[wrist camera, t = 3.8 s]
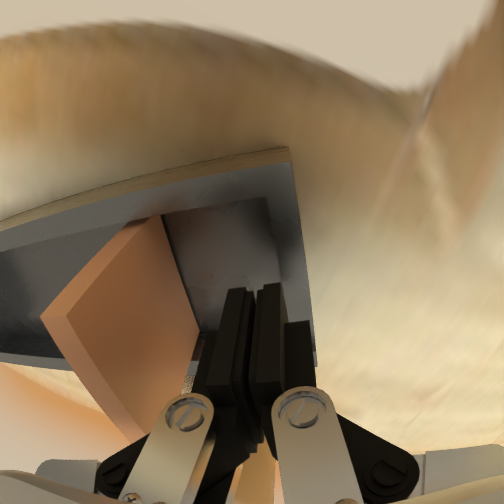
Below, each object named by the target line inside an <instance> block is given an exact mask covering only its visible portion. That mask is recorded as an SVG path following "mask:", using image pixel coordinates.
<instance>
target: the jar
mask: <svg viewBox="0 0 504 504" xmlns="http://www.w3.org/2000/svg"><path fill="white" fill-rule="evenodd" d="M275 462H276V459H275V458H273V457H272V454H271V451H270V449H269V446H268V443H267V440H266V438H265V435H264V443H262V444H258V448H257V453H250V458H248V459H247V460H246V461H245V462H243V463H242V464H243V466H242V472H241V476H240V479H239V483H238V486H237V490H236V493H235V496H234V500H233V503H232V504H273V502H274V483H275Z"/></svg>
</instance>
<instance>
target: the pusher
mask: <svg viewBox="0 0 504 504" xmlns="http://www.w3.org/2000/svg"><path fill="white" fill-rule="evenodd" d="M40 318H41V320H42V321H43V323H44V325H45V327H46V328H47V330H48V332H49V333H50V335H51V337H52V338H53V340H54V342H55V343H56V345H57V346H58V348H59V349H60V351H61V353H62V354H63V356H64V357H65V359H66V360H67V362H68V363H69V365H70V366H71V368H72V369H73V371H74V372H75V373H76V375H77V376H78V378H79V379H80V381H81V382H82V383H83V385H84V386H85V387H86V389H87V390H88V391H89V393H90V394H91V395H92V397H93V398H94V399H95V401H96V402H97V403H98V405H99V406H100V407H101V408H102V410H103V411H104V412H105V413H106V415H107V416H108V417H109V418H110V420H111V421H112V422H113V423H114V424H115V426H116V427H117V428H118V429H119V430H120V431H121V432H122V434H123V435H124V436H125V437H126V438H127V439H128V440H129V442H130V443H131V444H132V443H134V442H136V441H137V440H139V439H141V438H142V437H144V436H145V435H147V434H149V433H150V432H151V431H152V429H153V427H154V425H155V423H156V421H157V419H158V417H159V415H160V413H161V411H162V409H163V408H164V406H165V405H166V404H167V403H168V402H169V401H170V400H171V399H173V398H175V397H177V396H179V395H180V394H181V391H182V387H183V384H184V381H185V377H186V374H187V371H188V367H189V364H190V361H191V358H192V354H193V351H194V348H195V345H196V341H197V338H198V335H199V332H200V330H199V328H198V325H197V322H196V320H195V317H194V314H193V311H192V309H191V306H190V303H189V300H188V298H187V295H186V292H185V289H184V286H183V283H182V280H181V278H180V275H179V272H178V269H177V266H176V263H175V260H174V257H173V254H172V251H171V248H170V245H169V242H168V238H167V235H166V232H165V229H164V226H163V223H162V219H161V216H160V215H156V216H151V217H146V218H141V219H137V220H132V221H129V222H128V223H127V224H126V225H125V226H124V227H123V228H122V229H121V230H120V231H119V232H118V233H117V234H116V235H115V236H114V237H113V238H112V239H111V240H110V241H109V242H108V243H107V244H106V245H105V246H104V247H103V248H102V249H101V250H100V251H99V252H98V253H97V254H96V255H95V256H94V257H93V258H92V259H91V260H90V261H89V262H88V263H87V264H86V265H85V266H84V267H83V269H82V270H81V271H80V272H79V273H78V274H77V275H76V276H75V277H74V278H73V279H72V280H71V282H70V283H69V284H68V285H67V286H66V287H65V288H64V289H63V290H62V292H61V293H60V294H59V295H58V296H57V297H56V298H55V299H54V301H53V302H52V303H51V304H50V305H49V306H48V308H47V309H46V310H45V311H44V312H43V313H42V315H41V316H40Z"/></svg>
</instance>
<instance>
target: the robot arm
mask: <svg viewBox="0 0 504 504" xmlns="http://www.w3.org/2000/svg"><path fill="white" fill-rule="evenodd" d="M264 435H265V438H266V440H267V443H268V446H269V449H270V451H271V454H272V457H273V458H275V459H276V460H277V461H278V462H279V469H280V476H281V482H282V488H283V495H284V501H285V504H504V447H503V446H501V445H498V444H489V445H482V446H475V447H468V448H459V449H450V450H438V451H426V452H425V454H421V455H411V454H409V453H408V452H407V451H405V450H403V449H401V448H399V447H397V446H395V445H393V444H391V443H389V442H387V441H385V440H384V439H382V438H380V437H378V436H376V435H374V434H373V433H371V432H369V431H367V430H365V429H363V428H362V427H360V426H358V425H356V424H355V423H353V422H351V421H349V420H348V419H346V418H344V417H342V416H341V415H339V414H337V413H336V411H335V408H334V405H333V402H332V400H331V399H330V397H329V395H328V394H326V393H325V392H324V391H323V390H320V389H318V388H317V387H316V376H315V365H314V355H313V346H312V337H311V328H310V320H304V321H296V322H288V318H287V312H286V306H285V300H284V295H283V289H282V284H281V282H278V283H270V284H264V285H263V289H259V290H257V298H256V300H255V296H254V292H253V290H252V291H247V288H246V287H239V288H231V289H228V291H227V296H226V300H225V304H224V308H223V312H222V317H221V321H220V325H219V329H218V330H211V331H208V333H207V335H206V338H205V342H204V346H203V349H202V353H201V357H200V361H199V364H198V368H197V372H196V376H195V379H194V383H193V387H192V391H191V393H186V394H182V395H179V396H177V397H175V398H173V399H171V400H170V401H169V402H168V403H167V404H166V405H165V406H164V408H163V409H162V411H161V413H160V415H159V417H158V419H157V421H156V423H155V425H154V427H153V429H152V431H151V432H150V433H149V434H147V435H145V436H144V437H142V438H141V439H139V440H137V441H136V442H134V443H132V444H131V445H129V446H127V447H126V448H124V449H122V450H121V451H119V452H117V453H116V454H114V455H112V456H110V457H109V458H107V459H106V460H105V461H103V462H102V463H100V462H99V461H98V460H57V459H51V460H46V461H45V462H43V463H41V465H40V466H39V467H38V469H37V471H36V473H35V474H32V473H27V472H23V471H17V470H0V504H232V503H233V500H234V496H235V493H236V490H237V486H238V483H239V479H240V476H241V472H242V466H243V464H242V463H243V462H245V461H246V460H247V459H248V458H250V453H257V448H258V444H262V443H264Z"/></svg>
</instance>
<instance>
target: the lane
mask: <svg viewBox="0 0 504 504" xmlns="http://www.w3.org/2000/svg"><path fill="white" fill-rule="evenodd" d="M156 215H160V216H161V219H162V223H163V226H164V229H165V232H166V235H167V238H168V242H169V245H170V248H171V251H172V254H173V257H174V260H175V263H176V266H177V269H178V272H179V275H180V278H181V280H182V283H183V286H184V289H185V292H186V295H187V298H188V300H189V303H190V306H191V309H192V311H193V314H194V317H195V320H196V322H197V325H198V328H199V330H200V332H199V335H198V338H197V341H196V345H195V348H194V351H193V354H192V358H191V361H190V364H189V367H188V371H187V374H186V375H196V372H197V368H198V364H199V361H200V357H201V353H202V349H203V346H204V342H205V338H206V335H207V333H208V331H211V330H218V329H219V325H220V321H221V317H222V312H223V308H224V304H225V300H226V296H227V291H228V289H231V288H239V287H246V288H247V291H252V290H253V292H254V296H255V300H256V298H257V290H259V289H263V285H264V284H270V283H278V282H281V284H282V289H283V295H284V300H285V306H286V312H287V318H288V322H296V321H304V320H310V328H311V337H312V346H313V355H314V365H315V367H317V356H316V346H315V336H314V326H313V317H312V308H311V299H310V291H309V282H308V274H307V266H306V259H305V251H304V244H303V237H302V229H301V222H300V216H299V209H298V202H297V196H296V189H295V183H294V177H293V171H292V165H291V159H290V153H289V148H288V147H282V148H276V149H270V150H264V151H258V152H252V153H246V154H241V155H235V156H230V157H225V158H220V159H215V160H210V161H205V162H200V163H196V164H191V165H186V166H182V167H178V168H173V169H169V170H165V171H161V172H156V173H152V174H148V175H144V176H141V177H137V178H133V179H129V180H125V181H122V182H118V183H114V184H111V185H107V186H104V187H100V188H97V189H93V190H90V191H87V192H83V193H80V194H77V195H74V196H71V197H67V198H64V199H61V200H58V201H55V202H52V203H49V204H46V205H43V206H40V207H37V208H34V209H32V210H29V211H26V212H23V213H20V214H18V215H15V216H12V217H10V218H7V219H4V220H2V221H0V362H6V363H12V364H18V365H25V366H32V367H40V368H48V369H57V370H67V371H73V369H72V368H71V366H70V365H69V363H68V362H67V360H66V359H65V357H64V356H63V354H62V353H61V351H60V349H59V348H58V346H57V345H56V343H55V342H54V340H53V338H52V337H51V335H50V333H49V332H48V330H47V328H46V327H45V325H44V323H43V321H42V320H41V318H40V316H41V315H42V313H43V312H44V311H45V310H46V309H47V308H48V306H49V305H50V304H51V303H52V302H53V301H54V299H55V298H56V297H57V296H58V295H59V294H60V293H61V292H62V290H63V289H64V288H65V287H66V286H67V285H68V284H69V283H70V282H71V280H72V279H73V278H74V277H75V276H76V275H77V274H78V273H79V272H80V271H81V270H82V269H83V267H84V266H85V265H86V264H87V263H88V262H89V261H90V260H91V259H92V258H93V257H94V256H95V255H96V254H97V253H98V252H99V251H100V250H101V249H102V248H103V247H104V246H105V245H106V244H107V243H108V242H109V241H110V240H111V239H112V238H113V237H114V236H115V235H116V234H117V233H118V232H119V231H120V230H121V229H122V228H123V227H124V226H125V225H126V224H127V223H128V222H129V221H132V220H137V219H141V218H146V217H151V216H156Z"/></svg>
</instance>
